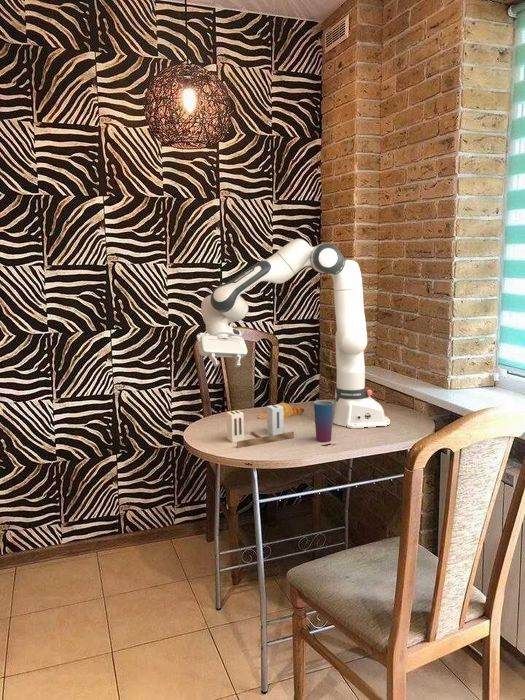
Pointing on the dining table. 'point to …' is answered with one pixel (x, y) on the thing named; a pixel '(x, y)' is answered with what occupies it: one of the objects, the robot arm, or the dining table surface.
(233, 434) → the key two
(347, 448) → the dining table surface
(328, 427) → the cup
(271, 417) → the key one
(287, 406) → the croissant
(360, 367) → the robot arm
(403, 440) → the dining table surface
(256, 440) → the rail board
